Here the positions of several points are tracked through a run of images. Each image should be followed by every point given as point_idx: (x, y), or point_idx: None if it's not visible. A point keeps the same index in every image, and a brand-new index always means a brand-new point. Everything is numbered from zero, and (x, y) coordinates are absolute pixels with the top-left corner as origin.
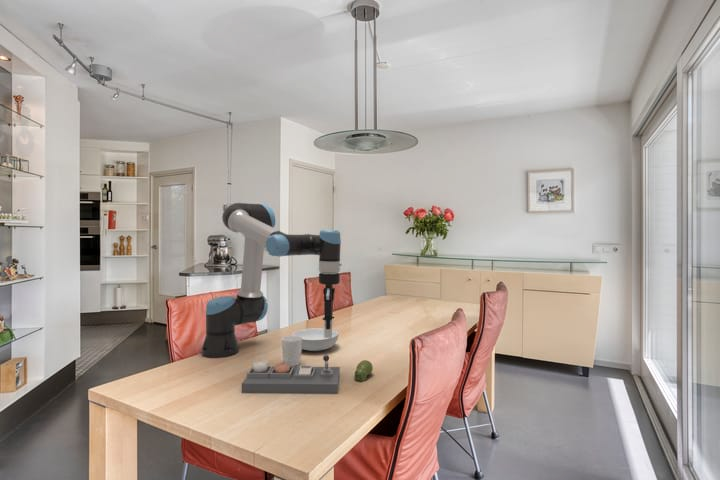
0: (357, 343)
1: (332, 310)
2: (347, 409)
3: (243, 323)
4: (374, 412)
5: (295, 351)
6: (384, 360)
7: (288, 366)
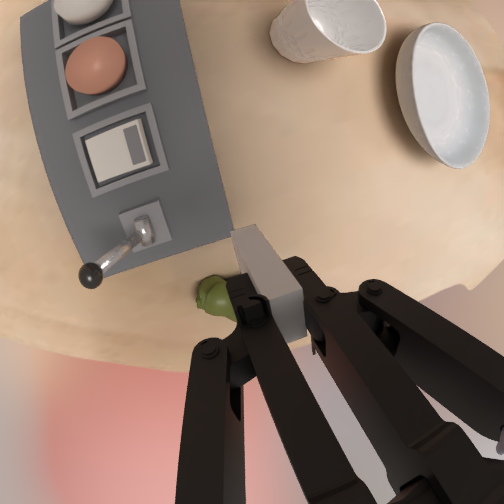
0: (454, 199)
1: (391, 348)
2: (47, 313)
3: None
4: (68, 355)
5: (297, 40)
6: None
7: (92, 89)
